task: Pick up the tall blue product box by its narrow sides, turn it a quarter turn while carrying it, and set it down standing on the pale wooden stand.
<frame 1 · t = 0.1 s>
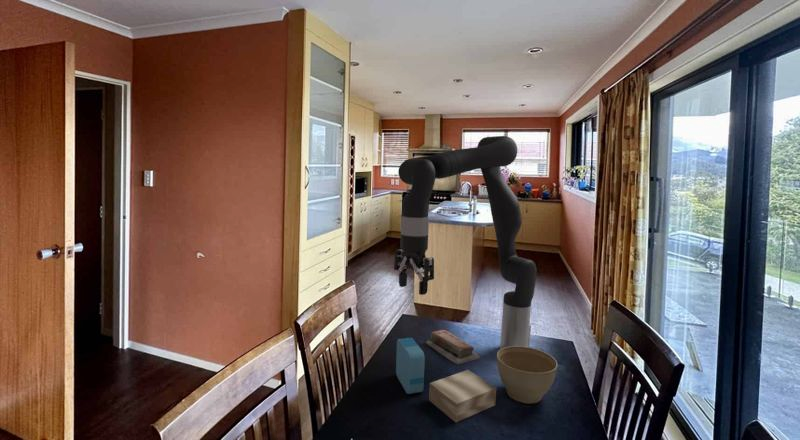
hand: (412, 290, 110), 29 cm above the table, tool pointing down, fingers open, 8 cm apart
blue product box: (408, 384, 116), on the table
packaged product: (451, 352, 138), on the table
planter bowl: (523, 395, 112), on the table
stand: (461, 402, 107), on the table
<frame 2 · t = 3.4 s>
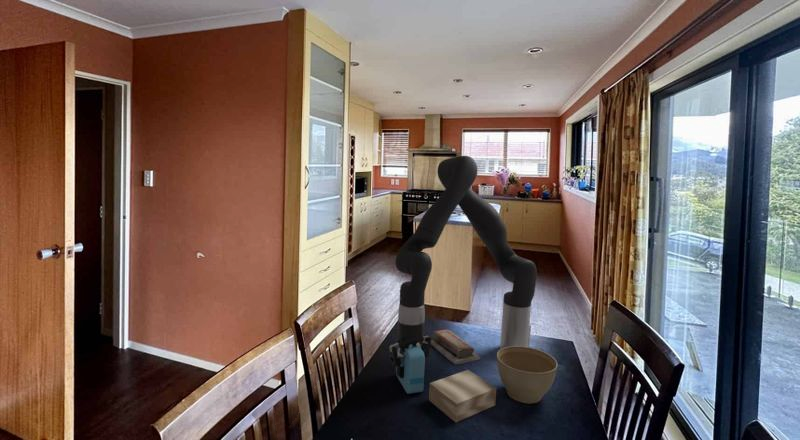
hand: (409, 374, 115), 3 cm above the table, tool pointing down, fingers closed on blue product box, 5 cm apart
blue product box: (408, 384, 116), on the table, touching gripper
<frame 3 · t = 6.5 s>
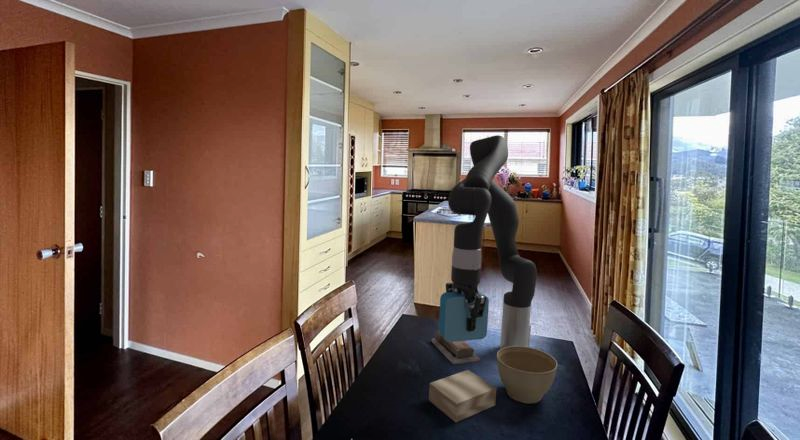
hand: (463, 326, 105), 21 cm above the table, tool pointing down, fingers closed on blue product box, 5 cm apart
blue product box: (462, 338, 105), point 18 cm above the table, touching gripper
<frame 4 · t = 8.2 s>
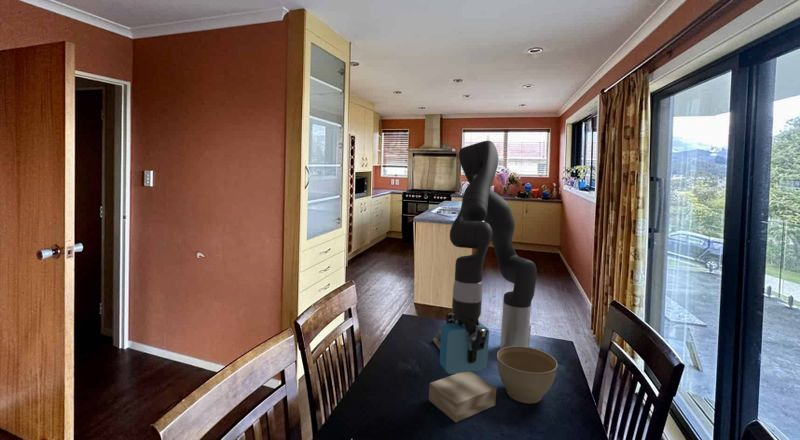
hand: (463, 357, 106), 13 cm above the table, tool pointing down, fingers closed on blue product box, 5 cm apart
blue product box: (462, 368, 106), point 10 cm above the table, touching gripper
when the fingers open (9 cm above the table, at t = 9.8 s): blue product box drops 1 cm, resting on stand.
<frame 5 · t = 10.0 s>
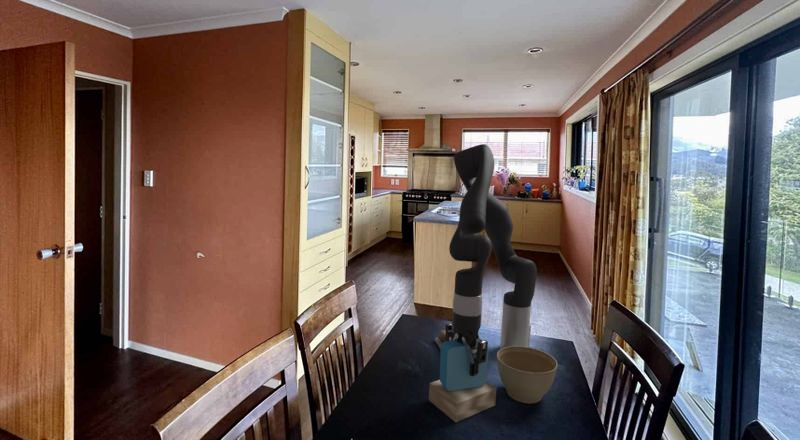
hand: (463, 369, 106), 10 cm above the table, tool pointing down, fingers open, 6 cm apart
blue product box: (462, 385, 107), point 5 cm above the table, touching stand
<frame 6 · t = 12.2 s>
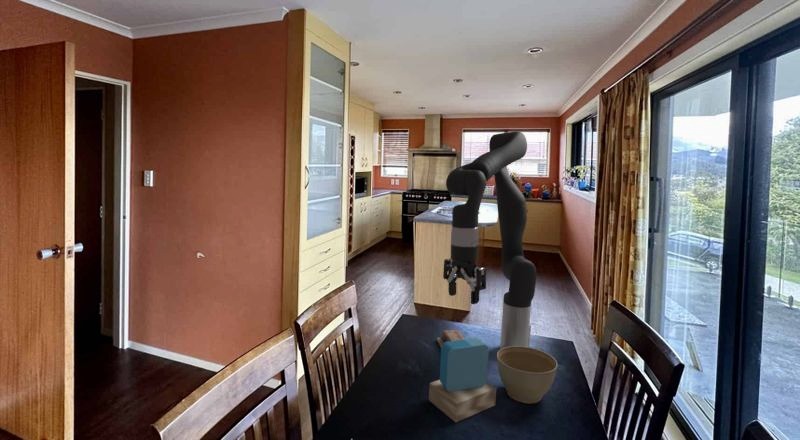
hand: (463, 299, 112), 26 cm above the table, tool pointing down, fingers open, 8 cm apart
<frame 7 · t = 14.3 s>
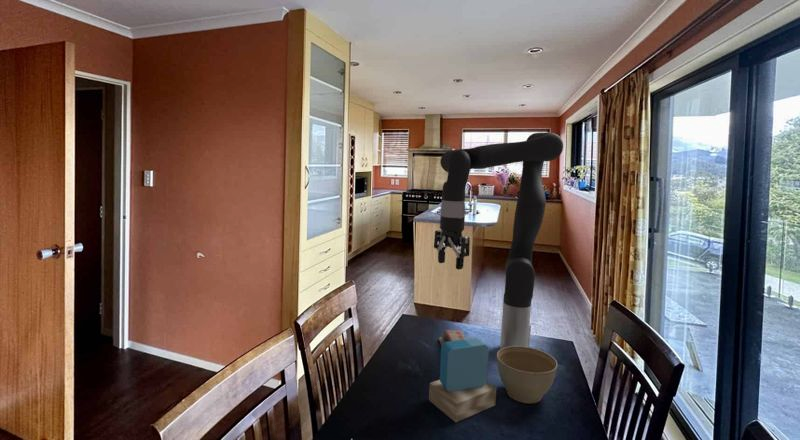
hand: (450, 265, 126), 32 cm above the table, tool pointing down, fingers open, 8 cm apart
at the end: blue product box 0.1 cm off-centre on the stand, point 4.8 cm above the stand's base; blue product box tilted 0°; the gripper is holding nothing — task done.
